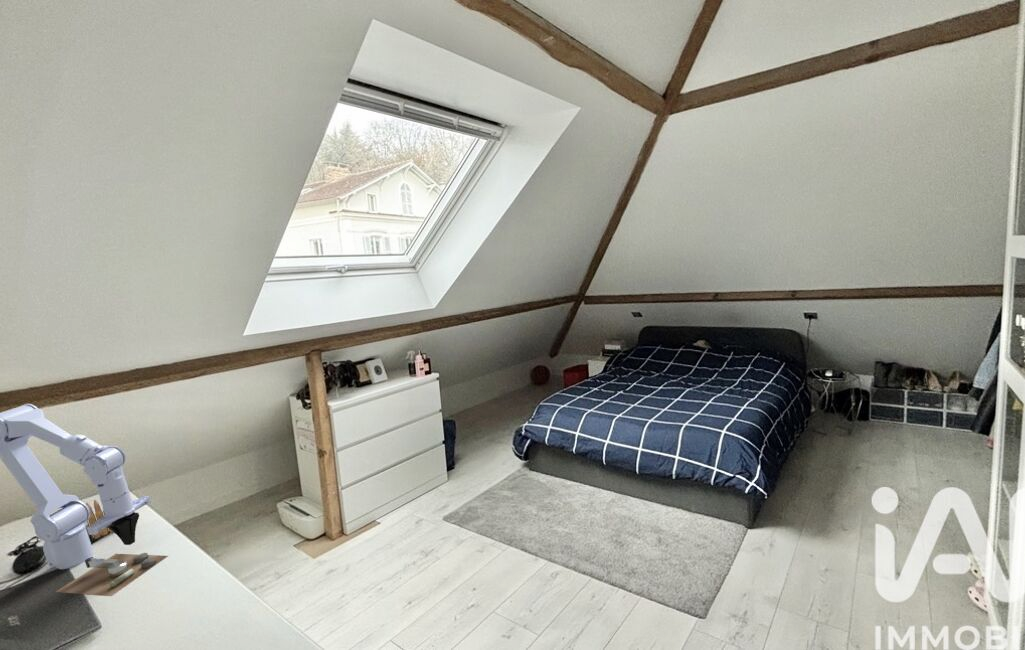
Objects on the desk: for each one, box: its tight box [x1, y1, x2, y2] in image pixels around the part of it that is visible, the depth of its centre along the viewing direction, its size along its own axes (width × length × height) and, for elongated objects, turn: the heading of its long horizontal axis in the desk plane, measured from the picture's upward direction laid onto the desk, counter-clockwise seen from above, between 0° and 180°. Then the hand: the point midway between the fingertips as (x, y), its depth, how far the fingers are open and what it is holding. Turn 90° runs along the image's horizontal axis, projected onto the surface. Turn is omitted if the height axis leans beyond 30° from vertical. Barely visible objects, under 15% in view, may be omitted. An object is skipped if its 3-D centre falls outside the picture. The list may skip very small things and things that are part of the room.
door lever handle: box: [84, 556, 129, 578], centre depth 119 cm, size 12×4×3 cm, turn 76°
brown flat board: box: [55, 552, 169, 597], centre depth 119 cm, size 18×14×3 cm
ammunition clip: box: [85, 499, 114, 546], centre depth 139 cm, size 11×2×12 cm, turn 137°
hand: (129, 543), depth 126 cm, fingers closed
